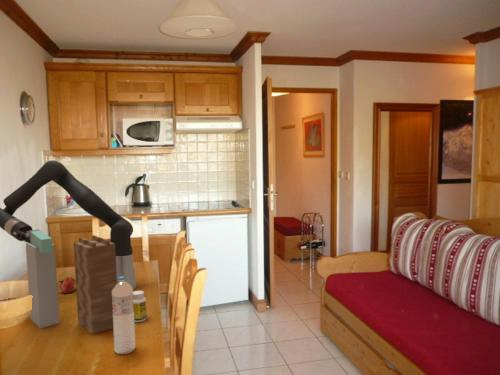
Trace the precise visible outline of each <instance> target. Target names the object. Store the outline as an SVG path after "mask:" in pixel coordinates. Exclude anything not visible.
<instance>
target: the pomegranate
mask: <svg viewBox="0 0 500 375" xmlns="http://www.w3.org/2000/svg"><path fill="white" fill-rule="evenodd" d="M58 283H60V284H59V289H60V291H61V292H63V293H64V294H70V293H71V292H72V291H73V289H74V290H76V279H75V278H74V277H71V276H70V277H65V278H64V279H62V280H59V282H58Z"/></svg>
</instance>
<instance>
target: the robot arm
mask: <svg viewBox="0 0 500 375" xmlns="http://www.w3.org/2000/svg"><path fill="white" fill-rule="evenodd" d="M50 182H54V183H56V184H57V185H59V187H61V188H62V189H63V190H65V192H67V194H68V195H69V196H70V197H71V198H70V199H72V200H73V201H74V202H75V203H76V204H77V205H78V206H79V207H80V208H81V209H82V210H83V211H85V213H88V214H89V215H91V217H94V218H96V219H98V220H100V221H102V222H103V223H105V225H107V226H108V227H109V228H110V236H109V237H110V242H111V243H114V244H115V252H116V273H117V283H118V282H119V277H121V276H124V277H125V280H124V281H126V282H127V283H129V284H130V285H131V286H132V288H133V290H135V289H136V288H137V283H136V282H137V281H136V269H135V268H134V257H133V256H134V252H133V251H134V250H133V247H132V241H131V237H132V234H133V232H134V227H133V225H132V224H131V222H130V221H129V220H127V219H126V218H124V217H123V216H121V215H120V214H119V213H118V212H116V211H115V210H114V209H113V208H112V207H111V206H110V205H109V204H107V203H106V202H105V201H104V200H103V199H102V198H101V197H100V196H99V195H98V194H97V193H96V192H94V191H93V190H92V189H91V188H90V187H88V186H87V185H85V184H84V183H83V182H81V181H80V180H78V179H77V178H76V177H75V176H74V175H73V174H72V173H71V172H70V171H69V169H67V167H66V166H65V165H64V164H63V163H61V162H59V161H57V160H48V161H46V162H45V163H44V164H43V165H42V166H41V167H40V168H39V169H38V170H37V171H36V173H35V174H33V175H32V177H30V178H29V179H28V180H27V181H25V182H24V183H23V184H21V185H20V186H19V187H18V188H16V189H15V190H14V191H12V192H11V193H10V194H8V195H7V196H6V197H5V198H4V199H3V200H2V201H3V203H4V206H5V207H4V208H1V207H0V229H1V230H4V232H5V233H7V234H8V235H9V236H11V237H12V238H14V239H16V240H17V241H19V242H24V243H30V235H29V231H30V230H34V229H33V227H32V226H31V225H30V224H28V223H26V222H25V221H23V220H21V219H19V218H18V217H16V216H15V215H14V214H15V213H16V211H17V210H18V209H19V208H21V207H22V206H23V205H25V203H27V202H29V200H31V198H33V196H34V195H35V194H36V193H37V192H38V191H39V190H40V189H41V188H42V187H44V186H45V185H46V184H48V183H50ZM30 244H31V243H30Z"/></svg>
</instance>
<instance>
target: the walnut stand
mask: <svg viewBox="0 0 500 375" xmlns="http://www.w3.org/2000/svg"><path fill="white" fill-rule="evenodd" d="M91 238H92V239H87V238H83V237H78V241H76V242H73V251H74V252H73V253H74V254H73V255H74V269H75V271H74V272H75V290H76V291H75V292H76V307H77V308H76V309H77V322H78V325H79V326H81V327H82V328H84V329H85V330H86V331H88V332H89V334H91V335H97V334H100V333H103V332H106V331H109V330H113V307H112V295H111V291H112V289H113V287H114V286H115V285H116V284H117V273H116V252H115V244H114V243H111V239H110V240H109V239H106V238H104V237H101V236H97V235H91Z"/></svg>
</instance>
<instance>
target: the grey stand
mask: <svg viewBox="0 0 500 375" xmlns="http://www.w3.org/2000/svg"><path fill="white" fill-rule="evenodd" d="M52 249H53V252H48V253H41V252H40V251H39V250H38V247H36V246H34V245H32V244H30V243H27V242H25V252H26V269H27V271H26V272H27V283H28V284H27V288H28V296H29V295H32V296H33V298H32V310H31V314H30V320H31V322H33V324H35V325H36V327H38V328H39V329H43V328H47V327H51V326H55V325H58V324H60V310H59V308H60V307H59V293H58V292H59V291H58V279H57V277H58V276H57V261H56V248H55V244H54V243H52Z"/></svg>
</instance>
